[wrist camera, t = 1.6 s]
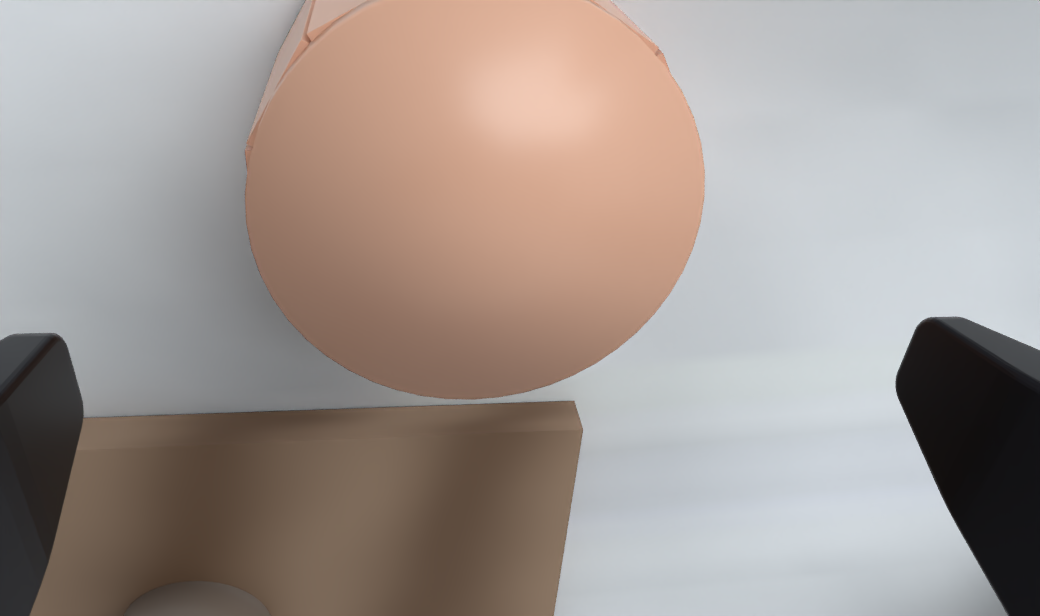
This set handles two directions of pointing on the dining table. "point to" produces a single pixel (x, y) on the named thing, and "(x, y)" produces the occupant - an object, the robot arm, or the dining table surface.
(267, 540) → the post board
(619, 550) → the dining table surface
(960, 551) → the dining table surface
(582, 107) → the cap
